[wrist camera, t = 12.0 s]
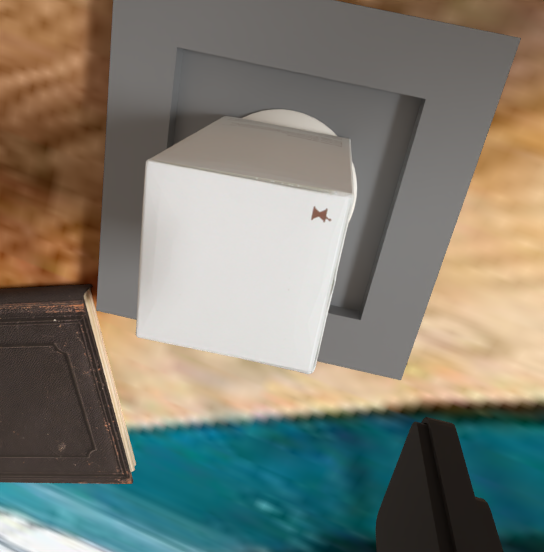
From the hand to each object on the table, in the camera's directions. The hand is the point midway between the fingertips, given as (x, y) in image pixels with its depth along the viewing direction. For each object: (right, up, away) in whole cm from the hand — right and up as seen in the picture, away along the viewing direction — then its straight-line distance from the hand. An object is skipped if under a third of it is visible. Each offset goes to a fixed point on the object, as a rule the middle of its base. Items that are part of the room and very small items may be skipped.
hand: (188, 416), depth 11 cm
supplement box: (+2, +8, +19) cm, 21 cm away
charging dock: (+2, +8, +20) cm, 22 cm away
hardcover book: (-21, -5, +30) cm, 36 cm away
